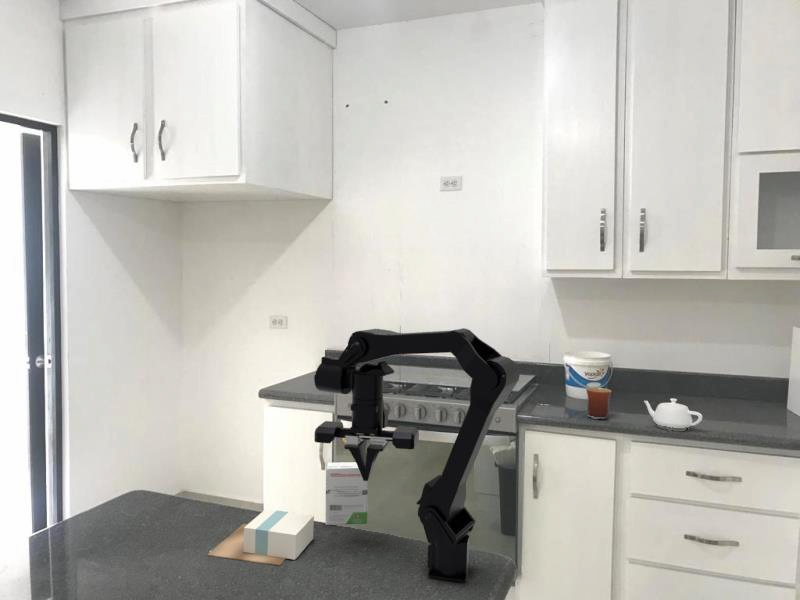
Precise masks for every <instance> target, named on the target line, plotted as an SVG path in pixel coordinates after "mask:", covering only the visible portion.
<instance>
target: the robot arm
mask: <svg viewBox="0 0 800 600" xmlns="http://www.w3.org/2000/svg"><path fill="white" fill-rule="evenodd" d="M442 353H443V354H445V353H447V354H448V353H449V354H450V353H451V355H453V357H454V358H456V360H457V362H458V364H459V365H460V366H461V368H462V370H463V371H464V372H465V374H467V376H469V377H470V378H471V382H470V386H469V406H468V409H467V410H466V414H465V416H464V418H463V421H462V424H461V426H460V428H459V431H458V433H457V436H456V439H455V441H454V443H453V446H452V447H451V448H452V449H451V450H450V453H449V455H448V458H447V459H446V463H445V465H444V468H443V470H442V472H441V474H439V475H436V476H435V477H433V478H431V480H429V481H427V482H425V483H424V486H423V489H422V493H421V496H420V498H419V500H418V501H417V502H416V503H415V504H416V505H419V506H418V507H417V517H418V518H419V521H420V523H421V525H422V526H423V529H424V533H425V537H426V541H427V542H428V545H427V558H426V559H427V561H426V562H427V563H426V564H427V565H426V568H427V570H428V573H427V577H428V578H431V579H437V580H438V579H439V580H443V581H444V580H445V581H451V582H452V581H453V582H459V583H466V582H467V579H468V575H469V571H470V567H471V562H469V561H470V559H469V557H470V535H469V534H470V533H471V532H473V530H474V527H475V525H476V520H475V518H474V517H473V516H472V514H471V513H470V512H469V511H468V509H467V508H466V507H465V504H466V503H465V501H466V499H467V481H468V478H469V476H470V473H471V471H472V469H473V466H474V464H475V461H476V459H477V457H478V455H479V453H480V450H481V448H482V445H483V442H484V440H485V438H486V436H487V434H488V431H489V429H490V426H491V423H492V421H493V419H494V417H495V413H496V412H497V411H498V409H500V407H501V406H502V405H503V403H504V402H505V401H506V400H507V398H509V396H510V394H511V392H512V391H513V390H514V389H515V387H516V385H517V384H518V382H519V379H520V370H519V368H518V365H517V364H516V363H515V361H514V360H512V359H511V358H510V357H508V356H503V355H502V354H501V353H500V352H499V351H497V350H496V349H495V348H494V347H492V346H491V345H489V344H488V343H486V342H484V340H481V339H480V338H479V337H478V336H477V335H476V334H475V333H474V332H473V331H471V330H470V329H468V328H464V327H463V328H462V327H461V328H458V329H452V330H439V331H438V330H435V331H421V332H420V331H419V332H418V331H417V332H397V331H392V330H390V329H389V330H388V329H380V328H371V329H364V330H363V329H362V330H357V331H354V332H352V333H351V335H350V336H349V338H348V341H347V346H346V347H345V349H344V350H343V351H342V353H341V355H340V356H339V357H335V356H332V355H325V356H322V357H321V363H320V364H319V365H318V366H317V367H316V372H315V374H314V376H313V379H314V386H315V388H316V389H317V390H318V391H320V392H327V393H332V394H340V395H348V394H349V393H351V404H350V411H351V426H350V427H344V423H343V421H332V420H325V421H323V422H322V423H321V424H319V425H318V426H317V427H316V428H315V430H314V441H313V442H315V443H319V444H320V443H321V444H331V443H332V442H333V441H334V440H335V439H336V438H338V439H340V438H341V439H345V444H344V447H343V448H344V449H345V450H348V451H349V452H350V454H351V456H352V457H353V459H354V461H355V462H356V463H357V466H358V468H359V471H360V473H361V476H362V478H363V480H364V481H368V482H369V480H370V477H371V474H372V471H373V469H374V465H375V463H376V460H377V457H378V455H379V454H380V453H381V452H384V451H385V449H387V446H389V443H390V442H391V444H392V445H393V446H394V447H395V449H399V450H401V449H402V450H414V449H415V448H416V446H417V445H418V443H419V442H420V441H419V440H420V431H419V429H418V428H417V426H405V425H398V426H397V427H396V428H395V429H394V430H385V429H386V428H388V425H389V424H388V423H389V410H388V409H386V408H385V405H384V404H385V402H384V377H385V376H389V375H393V374H394V373H395V369H393V367H391V366H390V365H389V364H388V362H387V361H386V360H384V361H378V363H377V364H374V363H369V362H370V361H371V362H372V361H375V360H380V359H384V358H389V357H392V356H396V355H416V354H417V355H418V354H442ZM359 364H363V365H362V366H360V367H358V366H357V365H359ZM368 441H369V443H370V444H369V445H368V446H367V443H368Z"/></svg>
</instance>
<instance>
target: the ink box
mask: <svg viewBox="0 0 800 600" xmlns="http://www.w3.org/2000/svg"><path fill="white" fill-rule="evenodd" d="M368 482H369V480H368V481H364V480H363V478H362V476H361V473H360V471H359V468H358V466H357V463H356V461H355V462H354V461H351V462H348V461H347V462H338V461H337V462H326V464H325V525H326V526H331V525H333V526H334V525H335V526H336V525H337V526H338V525H363V524H364V525H365V524H368Z"/></svg>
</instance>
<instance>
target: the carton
mask: <svg viewBox="0 0 800 600" xmlns="http://www.w3.org/2000/svg"><path fill="white" fill-rule="evenodd" d="M314 519H315V516H314V515H313V514H304V513H298V512H297V513H296V512H289V511H284V510H278V509H277V510H275V509H268V508H265V509H264V510H263V511H262V512H260V514H258V515H257V516H256V517H255V518H254V519H252V520H250V522H249V523H247V524H248V525H247V526H245V527H244V549H243V552H248V553H254V554H258V555H264V556H274V557H280V558H286V560H287V559H289V560H293V561H294V560H297V558H298V557H299V556H300V555H301V553H302V552H303V551H304V550H305V549H306V547H308V545H309V544H310V543H311V542H312V541H313V540H314V525H315V522H314V521H315V520H314Z"/></svg>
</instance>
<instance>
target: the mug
mask: <svg viewBox="0 0 800 600" xmlns="http://www.w3.org/2000/svg"><path fill="white" fill-rule="evenodd" d="M585 391H586V395H587V406H586V407H587V408H586V412H587V413H586V414H587V416H588V415H590V416H594V417H606V416H608V417H609V413H610V398H611V394H612V391H613V390H611V389H608V388H603V387H587V388H586V389H585Z"/></svg>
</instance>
